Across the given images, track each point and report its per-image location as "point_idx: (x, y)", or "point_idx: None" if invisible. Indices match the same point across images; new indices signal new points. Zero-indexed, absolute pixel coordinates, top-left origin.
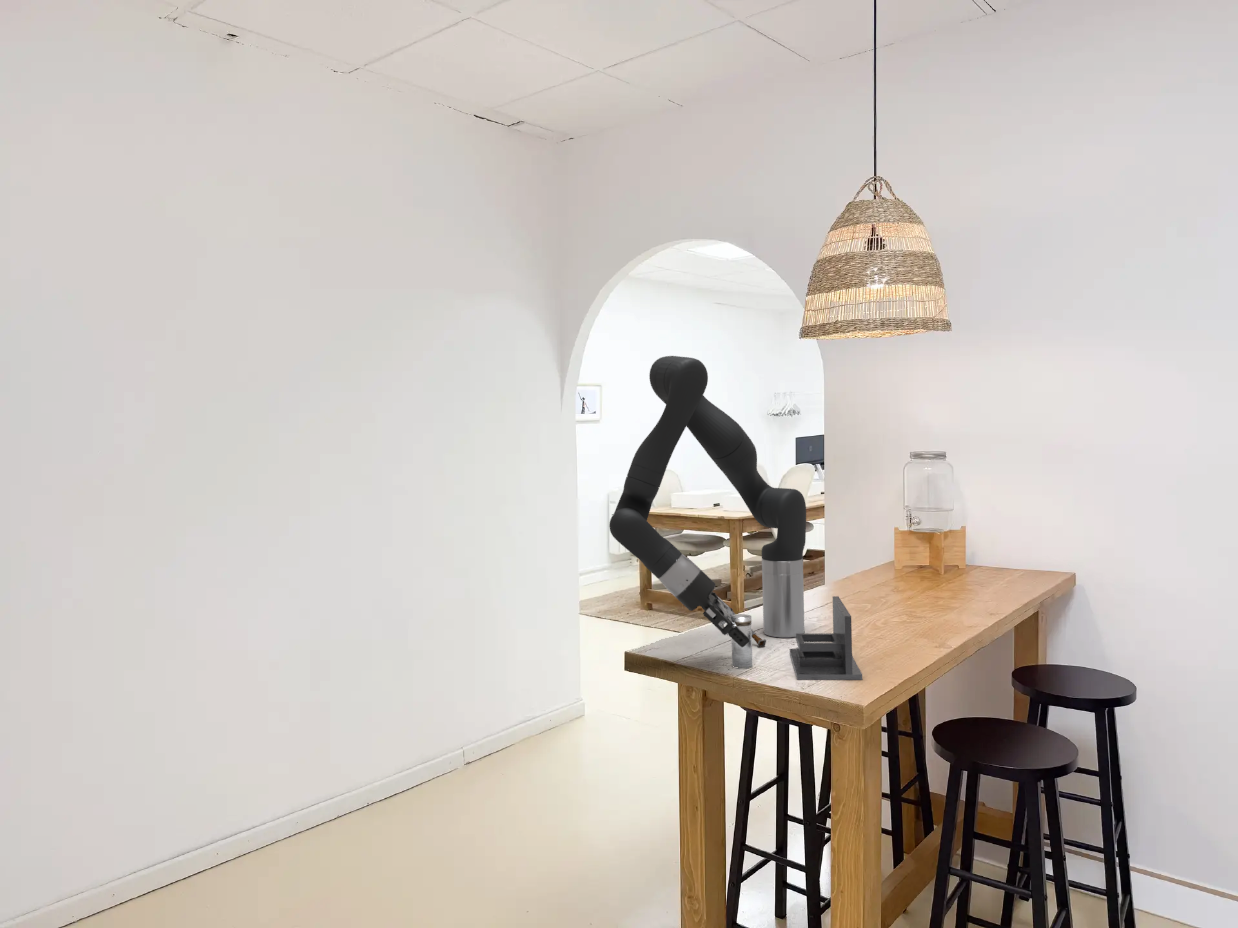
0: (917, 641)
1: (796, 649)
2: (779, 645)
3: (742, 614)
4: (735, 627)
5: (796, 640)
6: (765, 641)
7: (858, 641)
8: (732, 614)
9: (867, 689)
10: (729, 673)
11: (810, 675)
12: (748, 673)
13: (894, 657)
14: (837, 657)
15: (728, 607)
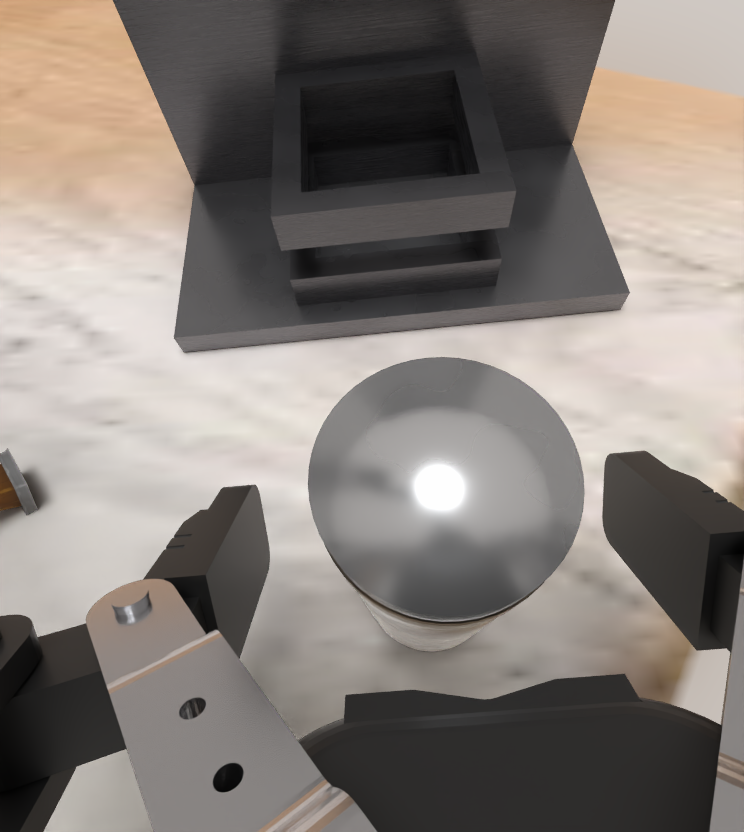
0: (86, 24)
1: (303, 282)
2: (23, 402)
3: (331, 461)
4: (730, 545)
5: (306, 241)
6: (8, 458)
7: (42, 141)
8: (191, 616)
9: (662, 113)
10: (612, 659)
11: (608, 249)
12: (579, 536)
13: None
14: (444, 138)
15: (244, 666)
